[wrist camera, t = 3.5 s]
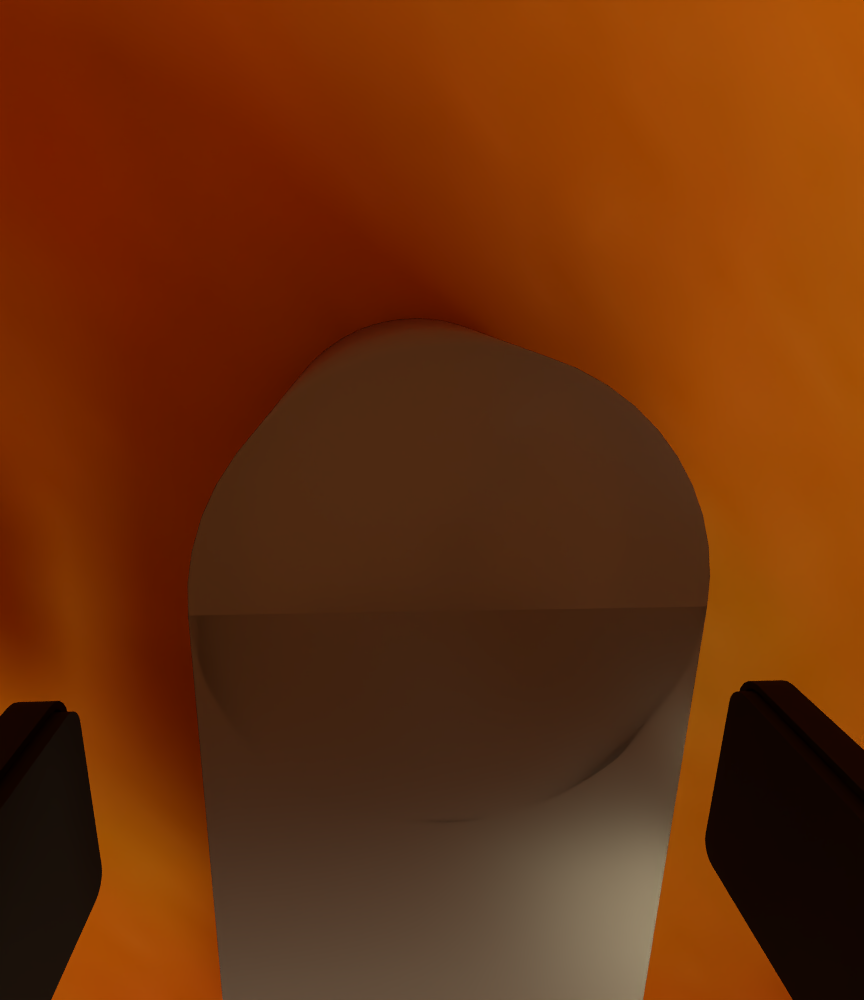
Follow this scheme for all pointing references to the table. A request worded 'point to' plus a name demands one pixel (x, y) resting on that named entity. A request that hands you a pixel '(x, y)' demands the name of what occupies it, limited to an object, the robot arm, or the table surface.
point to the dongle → (444, 677)
